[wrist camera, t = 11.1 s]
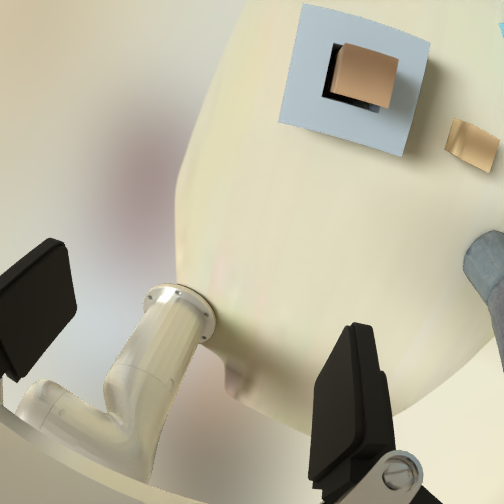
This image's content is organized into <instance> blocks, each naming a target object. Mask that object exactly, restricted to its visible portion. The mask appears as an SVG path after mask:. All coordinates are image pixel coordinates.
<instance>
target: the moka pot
mask: <svg viewBox="0 0 504 504" xmlns="http://www.w3.org/2000/svg"><path fill="white" fill-rule="evenodd" d="M463 271H464V273H465V274H466V276H467V278H468V279H469V281H470V282H471V283H472V285H473V286H474V288H475V289H476V290H477V292H478V293H479V295H480V296H481V298H482V299H483V301H484V302H485V303H486V305H487V306H488V309H489V312H490V314H491V318H492V327H493V330H494V334H495V337H496V341H497V345H498V348H499V353H500V357H501V362H502V367H503V372H504V233H501V232H498V231H495V230H494V231H490V232H488V233H485V234H484V235H482V236H481V237H480V238H478V239H477V240H476V241H474V243H473V244H472V245H471V246H470V248H469V249H468V251H467V252H466V255H465V258H464V265H463Z"/></svg>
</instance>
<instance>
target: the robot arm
mask: <svg viewBox="0 0 504 504" xmlns="http://www.w3.org/2000/svg"><path fill="white" fill-rule="evenodd" d="M143 309H144V313H145V315H144V316H143V318H142V319H141V321H140V322H139V324H138V325H137V327H136V329H135V330H134V332H133V333H132V335H131V336H130V338H129V339H128V341H127V343H126V344H125V346H124V347H123V349H122V351H121V352H120V354H119V355H118V357H117V359H116V360H115V362H114V364H113V365H112V367H111V368H110V370H109V372H108V374H107V375H106V378H105V381H104V386H103V392H104V399H105V404H106V408H107V412H108V414H106V413H103V412H102V411H100V410H97V409H96V408H94V407H92V406H91V405H89V404H88V403H86V402H85V401H83V400H82V399H80V398H79V397H77V396H75V395H74V394H73V393H71V392H70V391H68V390H66V389H65V388H63V387H62V386H60V385H59V384H57V383H55V382H53V381H51V380H47V379H42V380H38V381H37V382H35V383H34V384H32V385H31V386H30V388H29V389H28V390H27V391H26V393H25V395H24V396H23V398H22V400H21V402H20V404H19V406H18V408H17V410H16V413H15V414H13V413H12V412H11V411H9V410H8V409H6V408H5V407H4V406H3V389H2V388H3V387H2V376H3V374H4V373H6V375H7V377H9V378H10V379H12V380H13V381H15V382H16V383H18V381H19V380H20V379H21V378H23V377H25V376H26V375H27V374H28V372H29V371H30V370H31V369H32V367H33V366H34V365H35V363H36V362H37V361H38V359H39V358H40V357H41V356H42V354H43V353H44V352H45V351H46V349H47V348H48V347H49V346H50V344H51V343H52V342H53V341H54V340H55V338H56V337H57V336H58V334H59V333H60V332H61V331H62V330H63V329H64V327H65V326H66V325H67V324H68V323H69V322H70V320H71V319H72V318H73V317H74V316H75V314H76V311H77V304H76V299H75V294H74V288H73V282H72V276H71V270H70V264H69V256H68V250H67V248H66V247H65V244H64V243H63V242H62V241H59V240H56V239H53V238H48V239H46V240H45V241H43V242H42V243H41V244H40V245H38V246H37V247H36V248H34V249H33V250H32V251H30V252H29V253H28V254H27V255H25V256H24V257H23V258H21V259H20V260H19V261H18V262H16V263H15V264H14V265H13V266H11V267H10V268H9V269H8V270H7V271H6V272H4V273H3V274H2V275H1V276H0V504H207V503H203V502H199V501H196V500H192V499H189V498H185V497H182V496H179V495H175V494H173V493H170V492H167V491H164V490H161V489H158V488H155V487H152V486H149V485H147V484H148V482H149V480H150V477H151V473H152V470H153V464H154V460H155V455H156V451H157V446H158V442H159V439H160V435H161V432H162V429H163V426H164V423H165V421H166V418H167V416H168V413H169V411H170V409H171V406H172V403H173V402H174V399H175V396H176V394H177V392H178V390H179V387H180V385H181V383H182V380H183V378H184V376H185V373H186V371H187V369H188V366H189V364H190V362H191V359H192V357H193V355H194V352H195V350H196V348H197V345H198V344H200V343H203V342H205V341H207V340H208V339H209V338H210V337H211V336H212V334H213V332H214V330H215V326H216V318H215V315H214V312H213V310H212V308H211V307H210V305H209V304H208V303H207V302H206V300H204V299H203V298H202V297H201V296H200V295H199V294H197V293H196V292H194V291H193V290H191V289H189V288H187V287H184V286H181V285H177V284H166V283H165V284H160V285H157V286H154V287H153V288H152V289H150V290H149V292H148V293H147V294H146V296H145V298H144V302H143ZM308 479H309V480H311V481H313V487H312V488H313V489H322V499H323V501H322V502H321V503H320V504H443V503H441V502H440V501H439V500H438V499H437V498H435V496H433V495H432V494H431V493H430V492H429V491H428V490H427V489H426V488H425V487H423V486H422V485H421V484H422V482H423V470H422V466H421V464H420V462H419V461H418V460H417V458H416V457H415V456H414V455H412V454H410V453H408V452H406V451H401V450H396V446H395V437H394V428H393V420H392V411H391V404H390V397H389V390H388V384H387V378H386V375H385V373H384V372H383V371H380V368H379V362H378V355H377V350H376V344H375V338H374V333H373V328H372V326H370V325H365V324H361V323H356V322H353V323H352V324H351V326H345V328H344V329H343V331H342V333H341V335H340V337H339V339H338V341H337V343H336V345H335V347H334V348H333V350H332V352H331V354H330V356H329V358H328V360H327V361H326V363H325V365H324V367H323V369H322V370H321V372H320V374H319V376H318V377H317V379H316V382H315V386H314V400H313V418H312V434H311V447H310V459H309V471H308Z"/></svg>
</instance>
